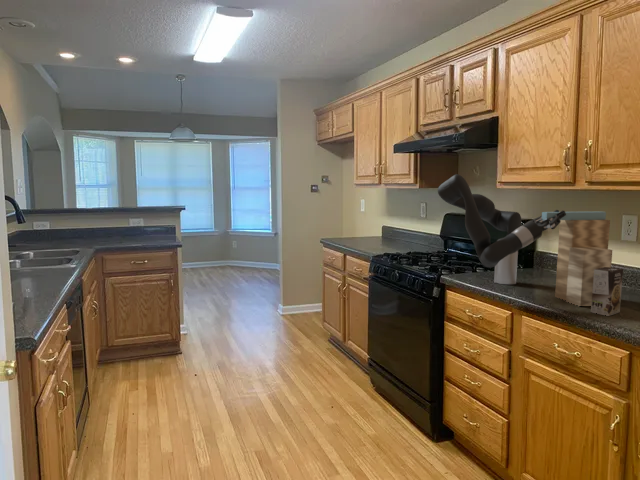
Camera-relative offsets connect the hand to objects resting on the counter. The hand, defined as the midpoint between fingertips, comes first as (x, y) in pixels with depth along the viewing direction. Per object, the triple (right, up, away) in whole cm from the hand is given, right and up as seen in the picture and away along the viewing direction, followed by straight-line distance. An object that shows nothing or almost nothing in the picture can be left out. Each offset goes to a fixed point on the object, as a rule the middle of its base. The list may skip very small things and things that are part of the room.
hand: (561, 212), depth 191 cm
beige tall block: (+9, -36, -2) cm, 37 cm away
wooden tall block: (+10, -35, +6) cm, 37 cm away
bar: (+6, -3, +1) cm, 6 cm away
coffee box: (+9, -37, -15) cm, 41 cm away
